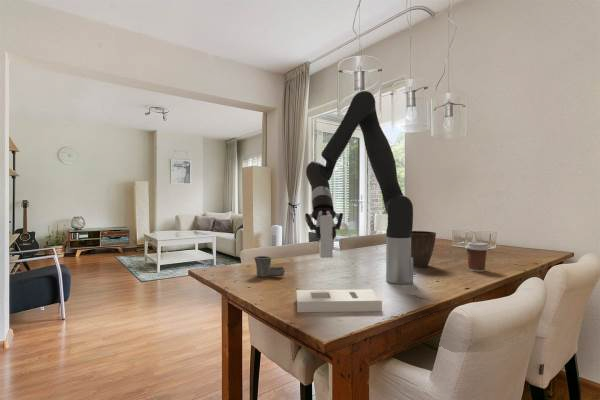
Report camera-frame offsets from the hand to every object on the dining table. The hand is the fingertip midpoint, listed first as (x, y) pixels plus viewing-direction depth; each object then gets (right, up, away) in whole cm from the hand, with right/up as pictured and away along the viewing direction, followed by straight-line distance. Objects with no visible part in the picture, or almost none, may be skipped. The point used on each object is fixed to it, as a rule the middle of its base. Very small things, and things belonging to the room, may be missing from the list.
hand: (326, 237), depth 104 cm
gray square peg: (0, -7, +2) cm, 7 cm away
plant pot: (+48, -19, +46) cm, 69 cm away
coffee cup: (+71, -19, +37) cm, 82 cm away
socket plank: (+2, -19, -10) cm, 22 cm away
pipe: (-22, -19, +25) cm, 38 cm away
